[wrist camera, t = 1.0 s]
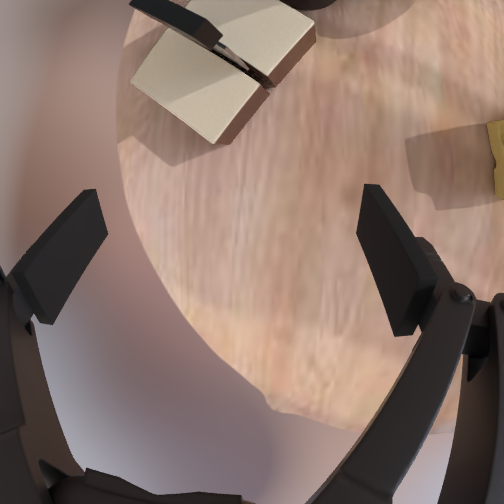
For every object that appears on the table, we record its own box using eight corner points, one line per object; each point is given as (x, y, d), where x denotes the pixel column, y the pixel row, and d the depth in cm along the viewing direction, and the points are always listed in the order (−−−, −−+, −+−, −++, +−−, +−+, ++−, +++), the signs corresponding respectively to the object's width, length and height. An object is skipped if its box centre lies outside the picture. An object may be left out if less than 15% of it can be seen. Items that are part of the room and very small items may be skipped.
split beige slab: (233, -7, 32) (217, -29, 25) (316, 41, 32) (314, 21, 26) (155, 89, 38) (129, 82, 32) (229, 144, 39) (211, 143, 33)
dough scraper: (188, 24, 29) (133, -15, 18) (253, 63, 29) (217, 24, 18) (179, 36, 29) (121, 1, 18) (243, 76, 30) (202, 42, 19)
